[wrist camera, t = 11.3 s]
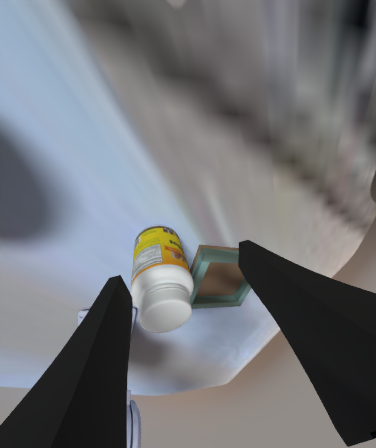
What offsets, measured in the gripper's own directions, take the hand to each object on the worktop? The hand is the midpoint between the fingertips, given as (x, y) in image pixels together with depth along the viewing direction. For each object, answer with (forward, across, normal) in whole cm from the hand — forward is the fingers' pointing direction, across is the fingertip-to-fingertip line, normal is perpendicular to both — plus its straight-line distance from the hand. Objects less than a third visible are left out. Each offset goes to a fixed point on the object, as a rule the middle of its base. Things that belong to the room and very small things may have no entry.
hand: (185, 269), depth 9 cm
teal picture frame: (+10, -6, +15) cm, 19 cm away
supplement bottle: (+11, +2, +5) cm, 12 cm away
